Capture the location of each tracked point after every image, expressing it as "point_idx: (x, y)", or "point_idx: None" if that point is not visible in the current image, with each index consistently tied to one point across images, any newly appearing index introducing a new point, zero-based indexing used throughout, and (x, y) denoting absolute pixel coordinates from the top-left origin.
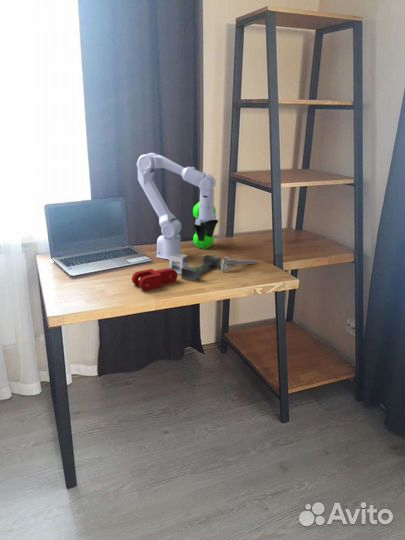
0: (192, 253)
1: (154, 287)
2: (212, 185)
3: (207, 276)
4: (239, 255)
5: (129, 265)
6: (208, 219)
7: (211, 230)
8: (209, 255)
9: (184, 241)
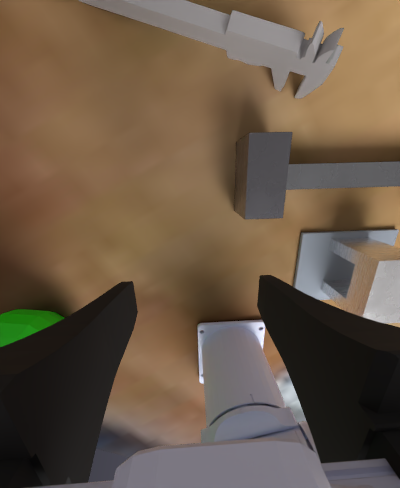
0: (147, 318)
1: None
2: None
3: (378, 125)
4: (15, 142)
5: None
6: None
7: (111, 321)
8: (247, 203)
9: None
